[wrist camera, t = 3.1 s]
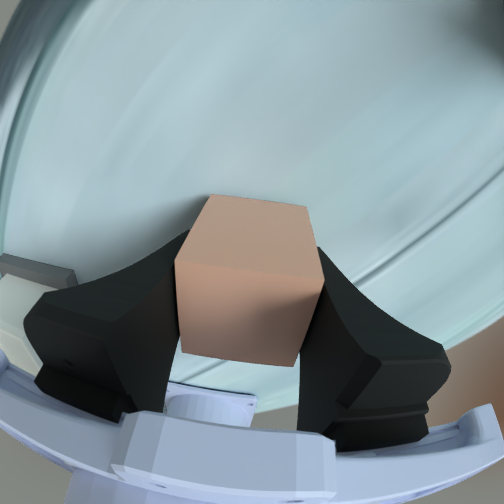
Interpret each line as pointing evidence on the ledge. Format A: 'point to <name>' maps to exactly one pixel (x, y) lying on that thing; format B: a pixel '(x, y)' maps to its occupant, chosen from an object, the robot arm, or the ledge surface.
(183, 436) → the robot arm
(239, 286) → the terracotta brick
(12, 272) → the tower base
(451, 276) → the ledge surface
